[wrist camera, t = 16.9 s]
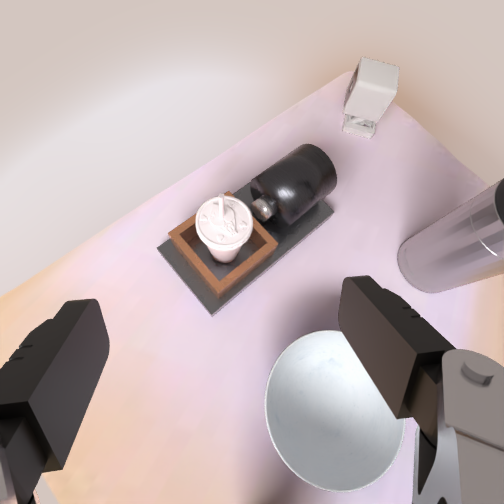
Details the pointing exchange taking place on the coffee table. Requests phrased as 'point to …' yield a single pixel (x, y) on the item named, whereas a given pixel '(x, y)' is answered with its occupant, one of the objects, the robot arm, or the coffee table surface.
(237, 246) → the smoothie
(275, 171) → the motor mount
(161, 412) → the coffee table surface
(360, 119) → the security camera
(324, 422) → the chinaware
